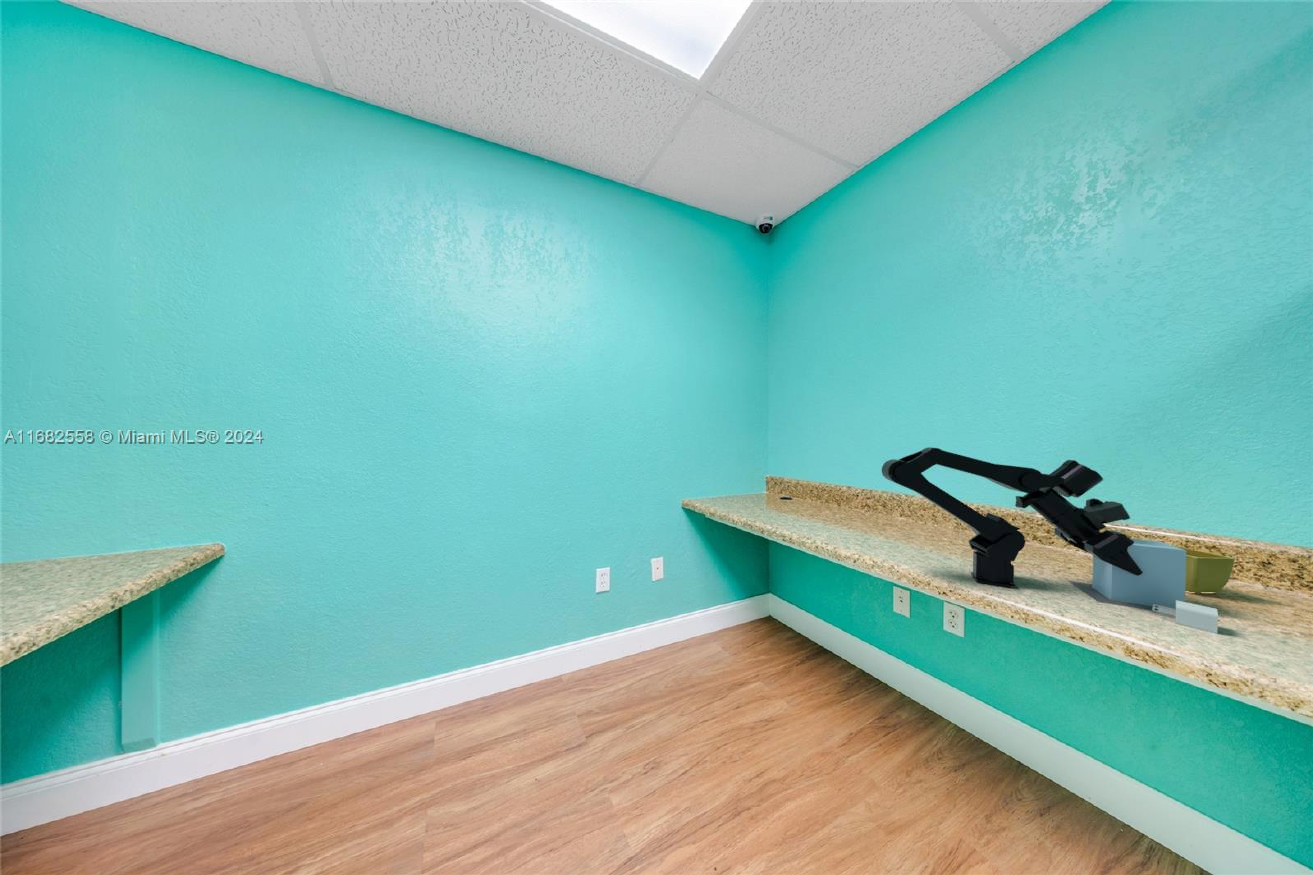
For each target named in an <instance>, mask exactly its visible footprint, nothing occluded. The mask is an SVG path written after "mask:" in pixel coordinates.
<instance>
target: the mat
mask: <svg viewBox="0 0 1313 875" xmlns="http://www.w3.org/2000/svg"><path fill="white" fill-rule="evenodd" d="M1067 582H1068V583H1070V584H1071V585H1073V586H1074V587H1076V588H1077V589H1078V590H1080V591H1082V592H1083V593H1085V594H1086V595H1087V596H1088V597H1089V598H1092V599H1093V600H1095V601H1096V602H1098V603H1102V604H1107V605H1115V606H1121V607H1126V608H1127V607H1129V608H1132V609H1133V608H1134V609H1139V610H1147V611H1153V606H1148V605H1141V604H1135V603H1128V602H1122V601H1115V600H1111V599H1109V598H1107V597H1106V596H1104V595H1103V594H1101V593H1100V592H1098V591H1097V590H1095V589H1094V588H1092V583H1086V582H1077V581H1072V580H1067ZM1156 608H1158V607H1156ZM1156 608H1154V610H1156V611H1155V612H1157V611H1158V609H1156ZM1153 612H1154V611H1153ZM1218 622H1221V620H1219V619H1218Z"/></svg>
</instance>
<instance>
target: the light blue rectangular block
mask: <svg viewBox="0 0 1313 875" xmlns="http://www.w3.org/2000/svg"><path fill="white" fill-rule="evenodd" d="M1129 538H1130V537H1129ZM1130 539H1131V540H1133V541H1134V544H1133V545H1131V546H1129V547H1128V550H1127V551H1128V553H1129V555H1130V556H1131V557H1132V559H1133V560H1134V561H1135V563H1136V564H1137V565H1138V567H1139V568H1140V569H1141V571H1142V572H1143V573H1142V574H1141V575H1139V576H1137V575H1134V574H1132V573H1130V572H1128V571H1125V570H1123V569H1121V568H1119V567H1116V566H1114V565H1112V564H1109V563H1107V562H1105V561H1102V560H1100V559H1098V558H1096V557H1094V556H1093V555H1092V581H1091V582H1092V583H1091V584H1092V588H1094V589H1095V590H1097V591H1098V592H1100V593H1101V594H1103V595H1104V596H1106V597H1107V598H1109V599H1111V600H1115V601H1122V602H1128V603H1135V604H1141V605H1148V606H1153V604H1154V605H1155V607H1158V606H1156V605H1160V606H1165V607H1169V608H1173V609H1176V600H1178V601H1182V602H1186V592H1185V578H1186V550H1184V549H1181V548H1178V547H1179V546H1175V545H1171V544H1169V543H1166V542H1164V541H1159V540H1150V539H1149V540H1147V539H1141V538H1140V539H1139V538H1130Z"/></svg>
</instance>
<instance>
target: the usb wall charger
mask: <svg viewBox="0 0 1313 875" xmlns="http://www.w3.org/2000/svg"><path fill="white" fill-rule="evenodd" d="M1156 606H1158V608H1156V607H1155V605H1154V604H1153V612H1157V613H1160V614H1165V615H1170V616H1174V617H1175V622H1174V623H1175V625H1180V626H1183V627H1187V628H1190V629H1196V630H1199V631H1203V632H1208V633H1210V634H1211V633H1212V634H1216V635H1218V623H1219V621H1218V620H1219V613H1218V609H1217V608H1215V607H1214V608H1213V607H1209V606H1206V605H1201V604H1195V603H1190V602H1186V601H1185V602H1182V601H1178V600H1176V609H1173V608H1169V607H1165V606H1160V605H1156ZM1154 608H1156V609H1158V611H1156V610H1154Z"/></svg>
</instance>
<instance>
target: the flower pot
mask: <svg viewBox="0 0 1313 875" xmlns="http://www.w3.org/2000/svg"><path fill="white" fill-rule="evenodd" d="M1177 547H1178V548H1181V549H1184V550H1186V578H1185V591H1189V592H1195V593H1201V592H1217V593H1218V592H1220V591H1221V590H1222V589H1223V588H1224V587H1225V586H1226V585H1227V584H1228V582H1229V580H1230V578H1231V575H1232V572H1233V568H1234V565H1235V561H1236V558H1234V557H1231V556H1226V555H1223V554H1217V553H1212V552H1206V551H1202V550H1196V549H1192V548H1188V547H1182V546H1177Z"/></svg>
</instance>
